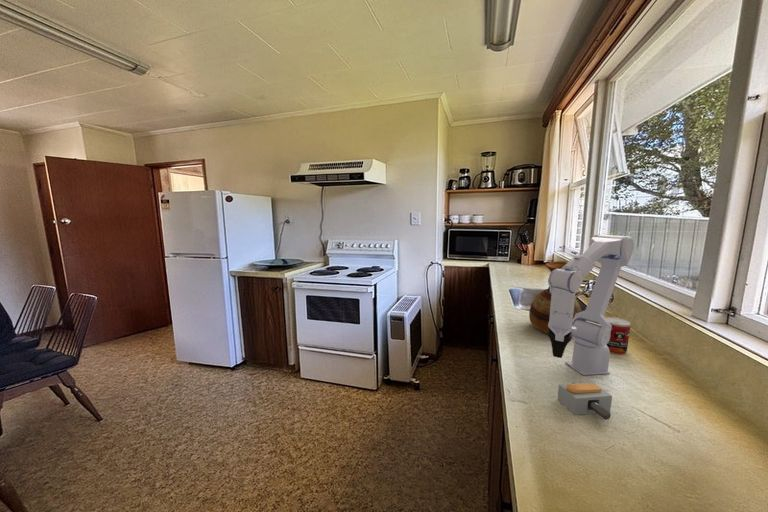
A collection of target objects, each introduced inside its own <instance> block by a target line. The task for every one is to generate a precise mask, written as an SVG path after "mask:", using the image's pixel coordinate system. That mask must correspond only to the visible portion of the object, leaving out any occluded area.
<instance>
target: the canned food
mask: <svg viewBox="0 0 768 512" xmlns="http://www.w3.org/2000/svg"><path fill="white" fill-rule="evenodd" d="M605 318H606V319H607V320H608V321H609V322H610V324H611V326H612V328H611V332H610V340H609V342H608V343H607V346H608V348H609V351H610V354H611V353H612V354H617V355H624V354H626V353H627V351H628V345H629V340H630V339H629V338H630V332H631V322H630V321H628V320H626V319H622V318H618V317H611V316H610V317H605Z"/></svg>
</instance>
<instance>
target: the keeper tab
mask: <svg viewBox="0 0 768 512" xmlns="http://www.w3.org/2000/svg"><path fill="white" fill-rule="evenodd" d="M594 383H595V382H594ZM594 383H588V384H571V383H567V384H568V385H567V390H568V391H570V392H573V393H589V392H601V390H602V389H603V388H602V387H601V388H602V389H601V388H599V387H600V386H599V385H598V384H597V385H598V386H599V387H598V386H597V385H595V384H596V383H595V384H594Z"/></svg>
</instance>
